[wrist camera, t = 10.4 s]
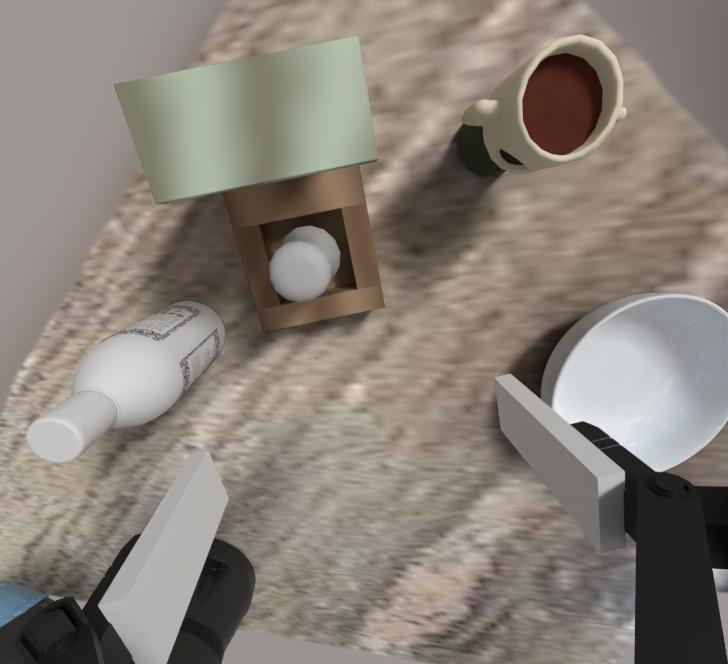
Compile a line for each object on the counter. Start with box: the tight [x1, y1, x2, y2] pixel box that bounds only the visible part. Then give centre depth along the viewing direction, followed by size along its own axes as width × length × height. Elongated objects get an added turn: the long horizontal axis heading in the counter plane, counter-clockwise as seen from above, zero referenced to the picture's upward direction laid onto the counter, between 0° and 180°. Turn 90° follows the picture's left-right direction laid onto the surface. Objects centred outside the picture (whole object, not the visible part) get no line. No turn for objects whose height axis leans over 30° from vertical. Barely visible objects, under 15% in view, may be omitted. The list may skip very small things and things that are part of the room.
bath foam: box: [26, 301, 225, 463], centre depth 29 cm, size 7×7×20 cm
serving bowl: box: [541, 293, 728, 472], centre depth 40 cm, size 21×21×7 cm
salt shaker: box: [269, 226, 340, 303], centre depth 30 cm, size 6×6×13 cm
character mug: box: [459, 34, 627, 177], centre depth 29 cm, size 11×7×13 cm, turn 89°
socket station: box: [114, 36, 385, 332], centre depth 28 cm, size 12×17×17 cm
